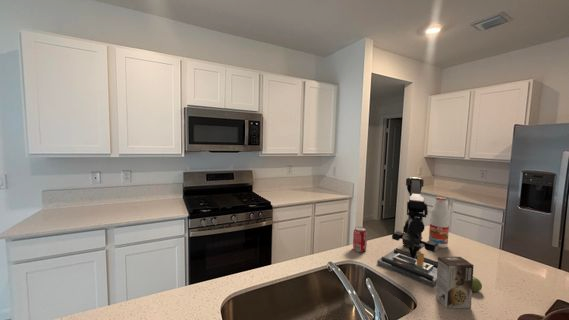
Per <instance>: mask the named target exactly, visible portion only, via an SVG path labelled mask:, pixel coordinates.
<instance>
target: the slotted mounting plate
mask: <svg viewBox="0 0 569 320" xmlns="http://www.w3.org/2000/svg"><path fill="white" fill-rule="evenodd" d="M393 250H394V252H396V253H400V254H402V255H405V256H408V257H411V254H410V251H407V250H404V249H401V248H397V247H396V248H394V249H393ZM417 256H418V254H417V255H416V256H415V258H414V259H417ZM380 258H381V259H382V260H384V261H387V262H389V263H392V264H394V265H397V266H400V267H402V268H405V269H407V270H410V271H412V272H415V273H417V274H420V275H422V276H425V277H427V278H430V279H432V280H433V276H432V275H429V274H426V273H424V272H421V271H419V270H416V269H413V268H411V267H408V266H406V265H403V264H400V263H398V262H395V261H393V260H390V259H387V258H385V257H383V256H381V257H380ZM411 258H412V257H411ZM424 262H425V263H428V264H430V265H433V266H436V267H437V266H438V261H436V260H433V259H430V258H427V257H425V256H424Z"/></svg>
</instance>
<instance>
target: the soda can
mask: <svg viewBox="0 0 569 320" xmlns="http://www.w3.org/2000/svg"><path fill="white" fill-rule="evenodd" d="M352 233H353V237H352V247H353V250H354V251H356V252H357V253H364V252H366V250H367V243H368V241H367V240H368V231H367V228H365V227H362V226H356V227H354V230H353V232H352Z"/></svg>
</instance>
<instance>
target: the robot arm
mask: <svg viewBox="0 0 569 320" xmlns="http://www.w3.org/2000/svg"><path fill="white" fill-rule="evenodd" d="M424 182H425V181H424V179H422V178H421V177H413V176H412V177H408V178H406V179H405V187H406V189H407V191H408V193H409V196H408V200H407V202H406V216H408V218H407V219H406V220H405V221H404V225H403V228H402V231H399V230H397V231H394V232H393V233H392V235H391V239H392V240H395V241H400V240H402V247H404V248H407V249H408V250H409V251H408V252H410V254H411V257H412V259H414V258H415V256H416V255H418V253H419V252H420V250H421V249H423V248H424V249H425V250H426V251H428V252H432V253H435V252H437V251H439V248H440V247H439V244H438V243H437V242H433V241H430V240H429V239H428V240H427V241H424V240H423V232H424V231H425V224H424V220H423V219H424V218H427V216H428V214H429V213H428V211H429V209H428V205H427V203H426V202H425V198H424V196H422V192H421V191H422V188H424V185H425V184H424Z"/></svg>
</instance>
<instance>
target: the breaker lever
mask: <svg viewBox="0 0 569 320" xmlns="http://www.w3.org/2000/svg"><path fill="white" fill-rule="evenodd" d="M417 255H418V256H417V262H415V263H414V264H416V265H419V266H422V267H425V268H426V264H424V257H425V253H424V252H421V251H418V253H417Z"/></svg>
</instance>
